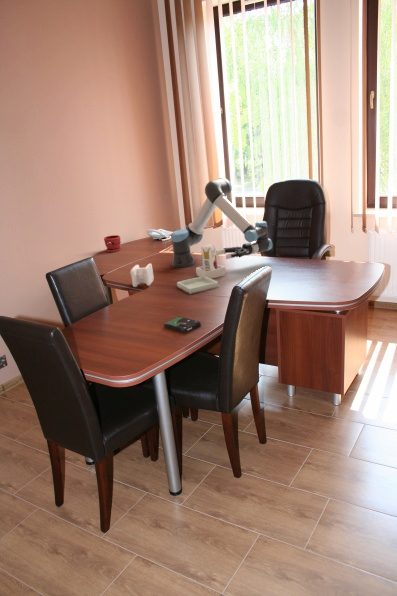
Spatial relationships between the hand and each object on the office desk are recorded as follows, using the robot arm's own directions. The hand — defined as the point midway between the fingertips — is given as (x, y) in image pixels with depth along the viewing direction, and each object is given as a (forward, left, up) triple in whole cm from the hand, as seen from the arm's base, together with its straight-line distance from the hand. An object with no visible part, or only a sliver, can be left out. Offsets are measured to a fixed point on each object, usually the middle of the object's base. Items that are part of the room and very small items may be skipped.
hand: (220, 255), depth 305 cm
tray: (+16, -25, -11) cm, 32 cm away
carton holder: (0, -8, -11) cm, 14 cm away
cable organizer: (-14, -48, -12) cm, 51 cm away
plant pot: (-126, -34, -12) cm, 131 cm away
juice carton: (0, -8, -12) cm, 14 cm away
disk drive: (+66, -57, -12) cm, 89 cm away
